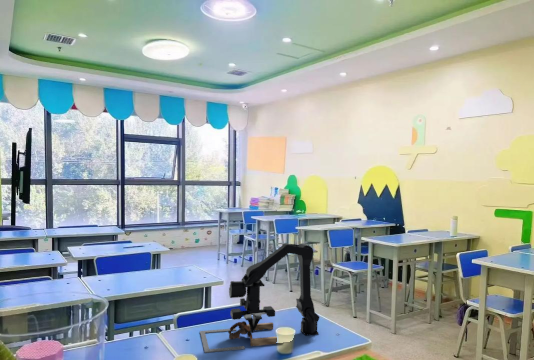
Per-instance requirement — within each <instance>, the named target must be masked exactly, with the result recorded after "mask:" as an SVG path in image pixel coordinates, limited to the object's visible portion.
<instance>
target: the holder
mask: <svg viewBox="0 0 534 360" xmlns="http://www.w3.org/2000/svg"><path fill="white" fill-rule="evenodd" d="M247 326H248V327H249V328H250V325H249V323H248V324H247ZM263 329H268V330H274V323H273V322H260V323H259V322H258V324H257V326H256V328H255V330H256V331H264V330H263ZM250 330H251V329H250ZM276 336H277V335H275V336H267V337H266V336H265V337H254V338H253V337H252V339H250V338H249V342H250V347H257V346H268V345H277V344H276V342H277V337H276Z"/></svg>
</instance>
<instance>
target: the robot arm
mask: <svg viewBox="0 0 534 360" xmlns="http://www.w3.org/2000/svg"><path fill="white" fill-rule="evenodd" d="M289 254H293V255H296V256H297V260H298V262H299V273H300V274H299V282H300V296H299V298H296V300H295V301H296V306H295V307H296V308H297V311H298V312H299V313H300V314H301V316H302V317H301V321H300V332H301V333H302V334H304V335H305V336H315V335H316V336H317V335H319V334H320V333H319V332H318V322H319V320H320V316H319V315H318V313H316V312H315V305H314V302H313V298H312V295H311V294H312V293H311V292H312V290H311V288H312V287H311V263H312V262H313V258H314V248H313V247H312V246H311V245H309V244H306V243H303V242H302V243H299V244H296V243H287V242H285V243H283V244H282V245H280V247H278V248H277V249H276V250H275V251H273V252H272V253H270V255H268V256H266V257H265V259H263V260H261V261H259V262H255V263H253V264H251V265H250V266H248V267H247V268H246V269H245V270H246V271H245V274H244V275H243V276H242V278H241V280H240V281H234V280H233V281H232V280H231V281H230V284H229V287H228V295H229V299H236V298H240V299H239V305H240V307H244V310H241V308H240V307H239V308H232V309H231V310H230V317H231V318H232V320H240V319H242V318H244V319H245V321H247V322H248V324H249V325H250V329H251V333H252V334H253V333H254V332H255V328H256V326H257V324H259V322H260V320H263V316H262V315H266V316H267V317H269V318H271V317H272V318H274V317H276V310H275V309H274V307H272V306H271V305H269V306H263V307H262V309H260V308H261V304H260V303H261V300H260V299H261V297H260V296H261V287H265V286H266V284H265V283H264V282H263V281H262V279H263V277H264V276H265V275H266V273H267V271H269V269H271V268H272V267H273V266H274V265H276V264H277V263H278V262H280V261H281V260H282V259H283V258H285V257H286V256H288V255H289ZM244 297H245V298H244Z"/></svg>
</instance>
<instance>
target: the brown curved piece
mask: <svg viewBox="0 0 534 360" xmlns="http://www.w3.org/2000/svg"><path fill="white" fill-rule="evenodd" d="M237 327H238V330H236V331H232V330H233V329H235V328H237ZM229 329H230V330H229V331H228V332H227V334H228V339H229V340H235V339H239V340H240V339H241V335H247V337H248V338H249V340H250V339H252V338H253V333H252V332H251V330H250V328H249V327H248V326H247V322H246V320H245V321H244V320H243V321H239V322H235V323H234V324H232V325H231V327H229Z"/></svg>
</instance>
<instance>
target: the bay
mask: <svg viewBox="0 0 534 360" xmlns="http://www.w3.org/2000/svg"><path fill="white" fill-rule="evenodd" d="M236 328H237V327H236ZM236 328H235V329H233V330H232V332H236V331H237V329H236ZM229 330H230V328H221V329H208V330H200V331H199V334H200V339H201V342H202V346H203V351H204V353H205V354H207V353H208V354H209V353H219V352H228V351H240V350H245V349H246V347H245V346H244V345H242V346H241V345H239V346H230V347H221V348H220V347H218V348H217V347H216V348H210V346H209V343H208V339H207V335H206V334H211V333H212V334H217V333H225V332H226V333H228V332H227V331H229Z"/></svg>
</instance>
